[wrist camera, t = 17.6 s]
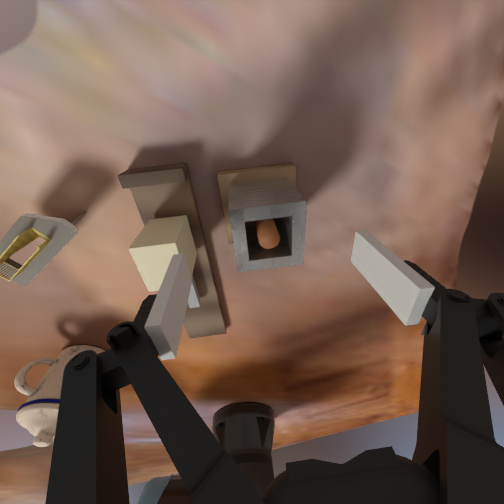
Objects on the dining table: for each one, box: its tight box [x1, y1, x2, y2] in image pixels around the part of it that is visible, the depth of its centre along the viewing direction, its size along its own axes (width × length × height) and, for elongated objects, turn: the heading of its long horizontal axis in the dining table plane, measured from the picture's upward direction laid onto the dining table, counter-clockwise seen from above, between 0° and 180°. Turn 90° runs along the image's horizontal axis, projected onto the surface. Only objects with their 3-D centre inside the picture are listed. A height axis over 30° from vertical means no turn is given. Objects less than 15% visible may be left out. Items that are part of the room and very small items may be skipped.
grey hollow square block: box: [228, 177, 307, 272], centre depth 21 cm, size 6×6×7 cm
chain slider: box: [129, 215, 201, 308], centre depth 25 cm, size 13×4×6 cm, turn 5°
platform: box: [0, 211, 87, 285], centre depth 23 cm, size 12×18×7 cm, turn 128°
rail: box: [118, 163, 226, 338], centre depth 29 cm, size 26×6×2 cm, turn 5°
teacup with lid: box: [14, 345, 105, 447], centre depth 33 cm, size 12×9×12 cm
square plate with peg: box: [217, 163, 296, 249], centre depth 22 cm, size 8×8×8 cm
